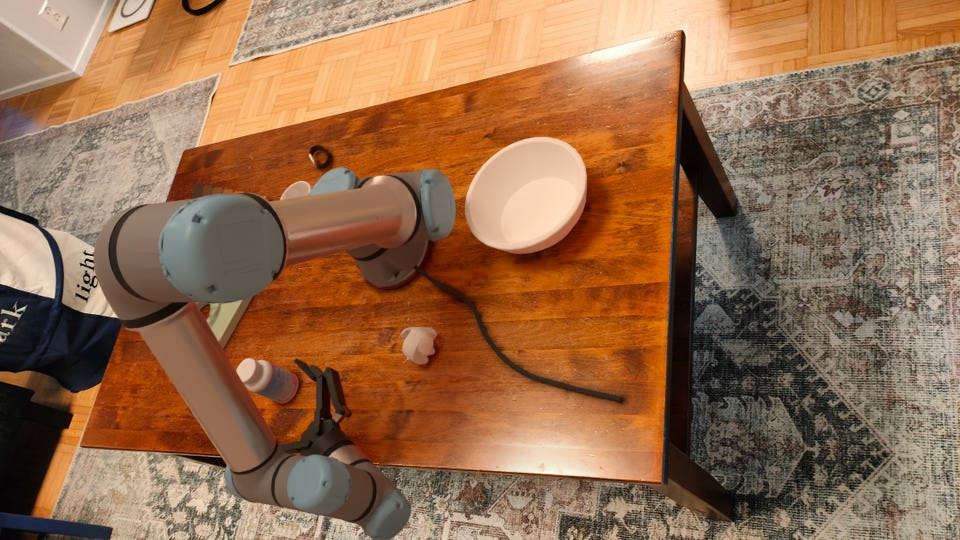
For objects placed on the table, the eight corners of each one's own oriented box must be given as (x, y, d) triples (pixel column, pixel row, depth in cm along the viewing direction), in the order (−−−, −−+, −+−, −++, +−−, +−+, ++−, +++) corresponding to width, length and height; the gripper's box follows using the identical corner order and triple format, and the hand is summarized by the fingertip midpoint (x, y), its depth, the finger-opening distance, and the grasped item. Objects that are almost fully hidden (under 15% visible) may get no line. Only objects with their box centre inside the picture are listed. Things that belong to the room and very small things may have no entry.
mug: (299, 245, 145) (261, 218, 135) (310, 212, 148) (274, 183, 139) (341, 242, 139) (303, 214, 130) (351, 208, 142) (316, 177, 133)
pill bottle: (305, 380, 126) (264, 361, 117) (287, 409, 125) (245, 391, 116) (286, 368, 130) (245, 349, 121) (269, 396, 128) (227, 378, 120)
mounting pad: (254, 293, 144) (248, 290, 143) (212, 368, 140) (205, 365, 138) (208, 276, 155) (201, 273, 153) (167, 346, 150) (160, 343, 148)
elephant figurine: (453, 342, 115) (436, 329, 110) (426, 379, 114) (408, 368, 109) (429, 324, 119) (411, 311, 114) (402, 361, 118) (384, 349, 113)
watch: (311, 157, 157) (301, 148, 154) (326, 145, 157) (317, 136, 154) (320, 176, 153) (310, 167, 150) (335, 163, 152) (326, 154, 149)
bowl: (512, 158, 128) (494, 131, 121) (619, 169, 115) (605, 141, 108) (466, 259, 122) (444, 237, 115) (574, 283, 109) (556, 260, 102)
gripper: (305, 530, 108) (247, 454, 121) (398, 405, 110) (331, 344, 124) (274, 523, 102) (216, 444, 115) (373, 392, 105) (305, 329, 118)
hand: (276, 392), depth 119 cm, fingers open, 13 cm apart
